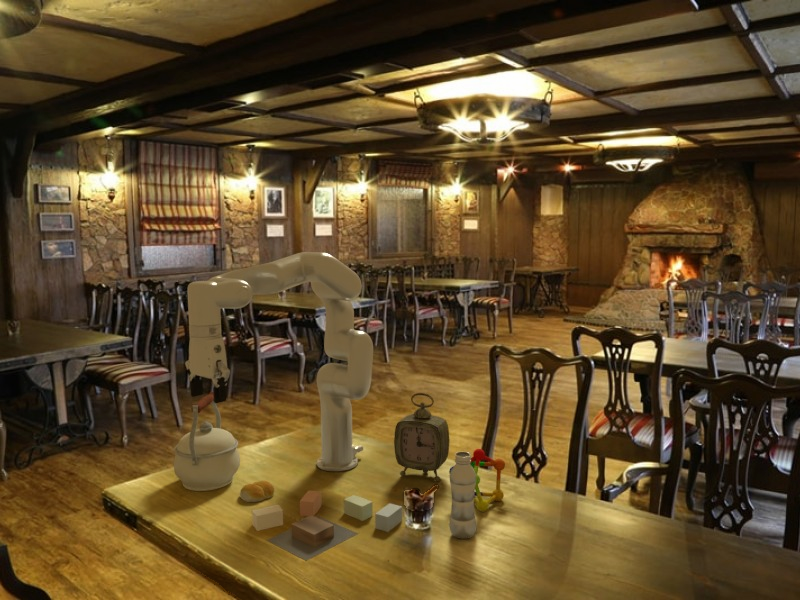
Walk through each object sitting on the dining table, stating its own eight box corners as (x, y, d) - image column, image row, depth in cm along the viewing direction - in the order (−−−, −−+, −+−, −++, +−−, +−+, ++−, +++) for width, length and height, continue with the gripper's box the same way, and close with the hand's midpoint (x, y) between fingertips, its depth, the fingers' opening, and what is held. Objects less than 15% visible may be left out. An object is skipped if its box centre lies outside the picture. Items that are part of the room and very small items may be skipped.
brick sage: (344, 518, 161) (343, 499, 160) (354, 513, 163) (354, 494, 163) (362, 526, 156) (362, 506, 156) (372, 520, 159) (372, 501, 159)
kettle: (227, 498, 173) (223, 409, 170) (161, 497, 174) (156, 408, 171) (253, 463, 198) (250, 385, 195) (195, 463, 199) (191, 385, 196)
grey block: (389, 522, 158) (389, 503, 158) (402, 526, 156) (402, 506, 156) (375, 533, 153) (375, 513, 152) (388, 537, 151) (387, 517, 150)
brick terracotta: (308, 508, 166) (308, 490, 166) (321, 510, 165) (321, 491, 165) (300, 520, 160) (299, 501, 159) (313, 521, 159) (313, 502, 158)
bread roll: (280, 495, 175) (279, 481, 174) (252, 505, 168) (251, 491, 168) (262, 487, 181) (262, 473, 180) (235, 497, 174) (234, 483, 174)
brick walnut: (311, 526, 153) (310, 515, 153) (334, 537, 148) (333, 525, 148) (291, 536, 149) (291, 523, 149) (314, 547, 144) (314, 534, 143)
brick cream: (278, 523, 158) (278, 504, 157) (283, 529, 155) (282, 510, 154) (253, 529, 155) (252, 510, 154) (257, 536, 152) (256, 516, 151)
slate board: (318, 520, 159) (318, 516, 159) (358, 538, 150) (358, 533, 150) (266, 545, 147) (266, 540, 147) (306, 565, 138) (306, 560, 138)
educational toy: (462, 491, 178) (465, 438, 178) (507, 501, 172) (509, 446, 172) (440, 508, 164) (442, 451, 164) (487, 519, 158) (490, 459, 158)
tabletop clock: (394, 477, 186) (393, 394, 183) (406, 467, 194) (405, 386, 191) (441, 485, 180) (441, 399, 177) (451, 473, 188) (451, 391, 185)
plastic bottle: (479, 530, 153) (479, 450, 151) (473, 544, 147) (473, 460, 144) (453, 527, 155) (453, 447, 153) (446, 540, 149) (445, 457, 146)
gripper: (239, 332, 155) (242, 401, 157) (198, 326, 166) (201, 390, 168) (213, 337, 149) (216, 408, 151) (172, 329, 160) (175, 396, 162)
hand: (208, 398), depth 159 cm, fingers open, 9 cm apart
